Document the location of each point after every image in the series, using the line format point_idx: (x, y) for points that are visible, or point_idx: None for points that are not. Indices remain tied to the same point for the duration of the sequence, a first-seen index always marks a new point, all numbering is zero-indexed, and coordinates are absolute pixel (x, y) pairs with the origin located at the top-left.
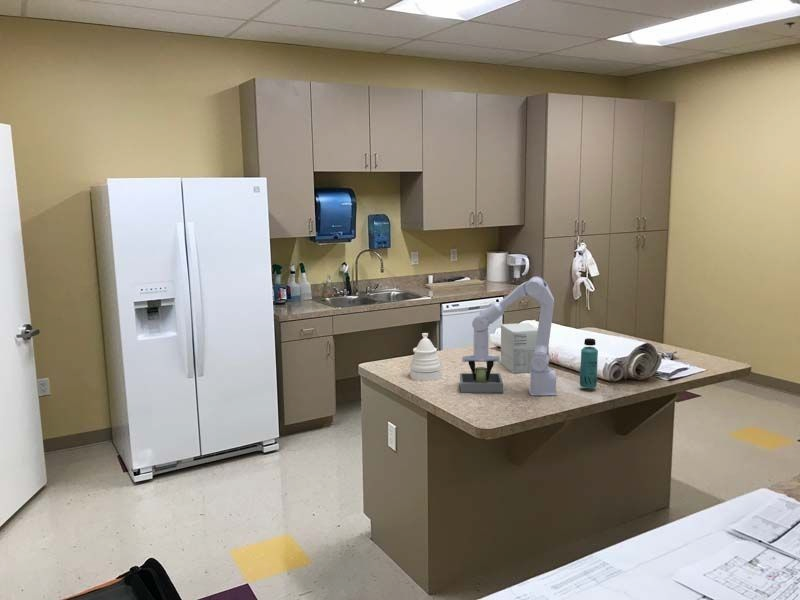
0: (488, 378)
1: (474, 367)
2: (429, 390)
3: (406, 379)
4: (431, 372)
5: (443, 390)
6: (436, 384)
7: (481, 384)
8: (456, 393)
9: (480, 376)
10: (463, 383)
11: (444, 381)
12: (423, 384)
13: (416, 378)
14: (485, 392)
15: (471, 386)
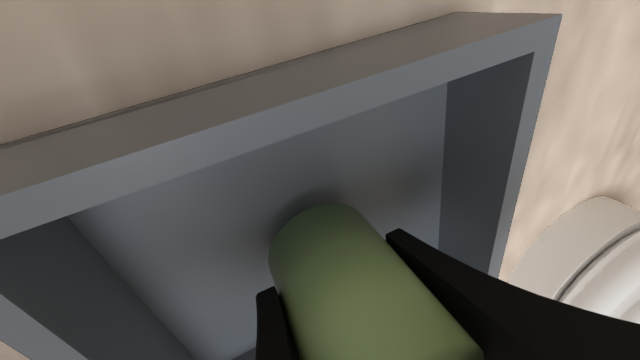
0: (258, 311)
1: (555, 352)
2: (627, 40)
3: (635, 189)
4: (596, 255)
5: (554, 68)
6: (554, 175)
7: (301, 93)
8: (489, 6)
9: (363, 270)
10: (536, 21)
11: (508, 236)
12: (607, 149)
13: (618, 202)
14: (223, 83)
15: (415, 45)
